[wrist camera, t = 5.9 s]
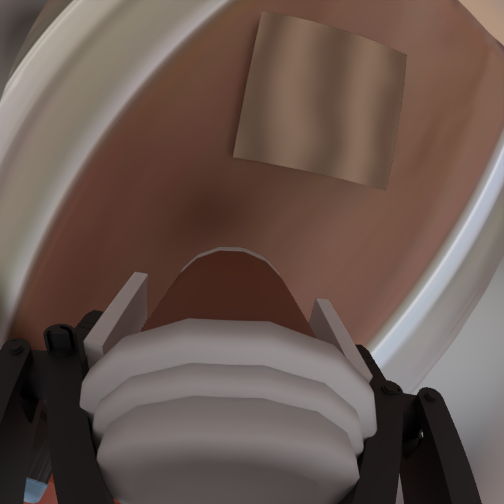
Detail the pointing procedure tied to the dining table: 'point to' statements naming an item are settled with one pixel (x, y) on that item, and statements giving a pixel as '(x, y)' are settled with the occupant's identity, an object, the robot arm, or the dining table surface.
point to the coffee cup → (228, 396)
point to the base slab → (321, 101)
